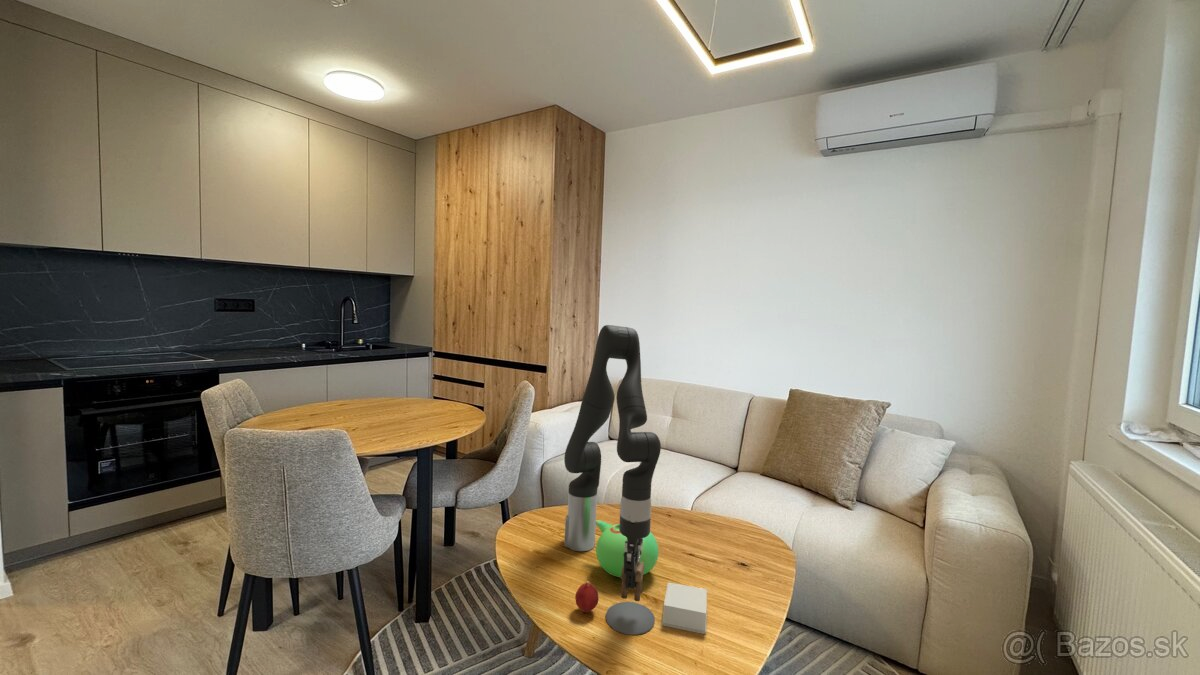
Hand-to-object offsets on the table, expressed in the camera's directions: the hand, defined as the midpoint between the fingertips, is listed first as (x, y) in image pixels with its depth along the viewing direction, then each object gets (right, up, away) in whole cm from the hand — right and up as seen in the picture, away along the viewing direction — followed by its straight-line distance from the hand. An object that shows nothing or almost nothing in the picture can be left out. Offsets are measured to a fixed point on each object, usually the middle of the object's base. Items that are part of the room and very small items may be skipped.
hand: (632, 581), depth 114 cm
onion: (-11, -9, +2) cm, 15 cm away
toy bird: (0, -9, +21) cm, 23 cm away
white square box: (+13, -10, +2) cm, 17 cm away
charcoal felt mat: (0, -9, 0) cm, 9 cm away
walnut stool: (0, -3, 0) cm, 3 cm away
